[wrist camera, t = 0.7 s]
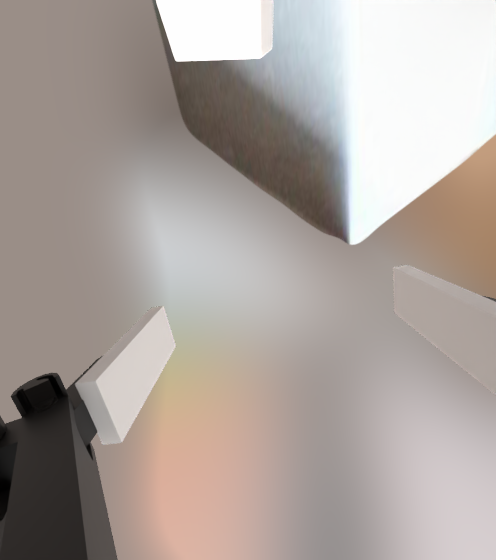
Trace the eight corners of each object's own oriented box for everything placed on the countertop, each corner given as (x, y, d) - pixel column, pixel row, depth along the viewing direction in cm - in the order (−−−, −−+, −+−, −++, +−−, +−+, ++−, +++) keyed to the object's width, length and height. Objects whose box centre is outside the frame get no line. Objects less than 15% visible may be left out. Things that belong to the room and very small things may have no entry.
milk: (218, -25, 27) (118, -117, 11) (275, -29, 27) (256, -133, 11) (223, 52, 31) (156, 65, 15) (273, 50, 31) (257, 61, 15)
